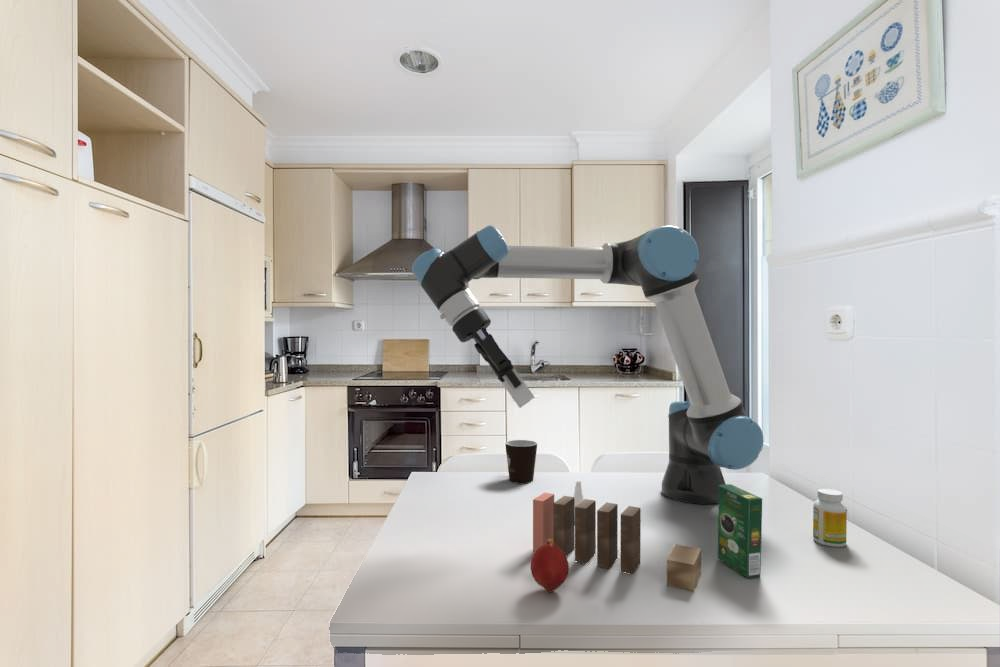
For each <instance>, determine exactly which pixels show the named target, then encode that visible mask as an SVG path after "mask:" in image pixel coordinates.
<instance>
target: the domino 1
mask: <svg viewBox="0 0 1000 667" xmlns="http://www.w3.org/2000/svg"><path fill="white" fill-rule="evenodd" d="M554 502H555V494H554V493H550V492H543V493H541V494H539V495H538V496H537V497H535V498H533V499H532V553H533V552H536V550H537V549H538V548H539V547H541V546H542V545H544V544H545V543H546V541H547V540H548V539H551V540H553V503H554Z"/></svg>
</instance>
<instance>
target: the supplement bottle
mask: <svg viewBox="0 0 1000 667" xmlns="http://www.w3.org/2000/svg"><path fill="white" fill-rule="evenodd" d="M843 494H844V493H843V492H842V491H839V490H836V489H832V488H819V489H818V490H817V499H816V500H815V501H814V502H813V509H812V510H813V511H812V512H813V514H812V515H813V516H812V518H813V519H812V538H813V540H814V541H815V542H816V543H817V544H820V545H822V546H827V547H831V548H843V547H845V546H846V545H847V523H848V522H847V519H848V518H847V517H848V516H847V513H848V512H847V511H848V510H847V506H846V505H845V504H844V503H843V502H842V501H843V499H844V498H843Z"/></svg>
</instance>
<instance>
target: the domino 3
mask: <svg viewBox="0 0 1000 667" xmlns="http://www.w3.org/2000/svg"><path fill="white" fill-rule="evenodd" d="M596 501H597V500H593V499H588V498H584V500H583V501H582V502H580V503H579V504H578V505H576V506H575V521H574V562H575V561H577V562H576V563H578V562H580V563H579V564H582V563H584V564H583V565H587V564H588V563H589V562H590V560H592V558H593V557H595V555H597V518H596V517H597V510H596V509H597V508H596V503H597V502H596ZM594 554H595V555H594ZM587 562H588V563H587ZM586 563H587V564H586Z"/></svg>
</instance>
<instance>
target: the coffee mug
mask: <svg viewBox="0 0 1000 667" xmlns="http://www.w3.org/2000/svg"><path fill="white" fill-rule="evenodd" d="M537 449H538V442H537V441H534V440H528V439H527V440H526V439H515V440H514V439H512V440H508V441H506V442H505V451H506V459H507V469H508V478H509V482H511V481H512V482H511V483H513V482H517V483H516V484H521V483H523V484H528V483H527V482H530V483H532V482H533V481H534V476H535V468H536V459H537V451H538V450H537ZM531 481H532V482H531Z"/></svg>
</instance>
